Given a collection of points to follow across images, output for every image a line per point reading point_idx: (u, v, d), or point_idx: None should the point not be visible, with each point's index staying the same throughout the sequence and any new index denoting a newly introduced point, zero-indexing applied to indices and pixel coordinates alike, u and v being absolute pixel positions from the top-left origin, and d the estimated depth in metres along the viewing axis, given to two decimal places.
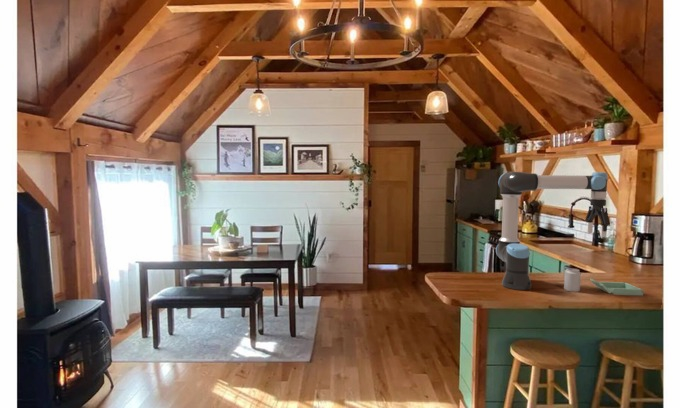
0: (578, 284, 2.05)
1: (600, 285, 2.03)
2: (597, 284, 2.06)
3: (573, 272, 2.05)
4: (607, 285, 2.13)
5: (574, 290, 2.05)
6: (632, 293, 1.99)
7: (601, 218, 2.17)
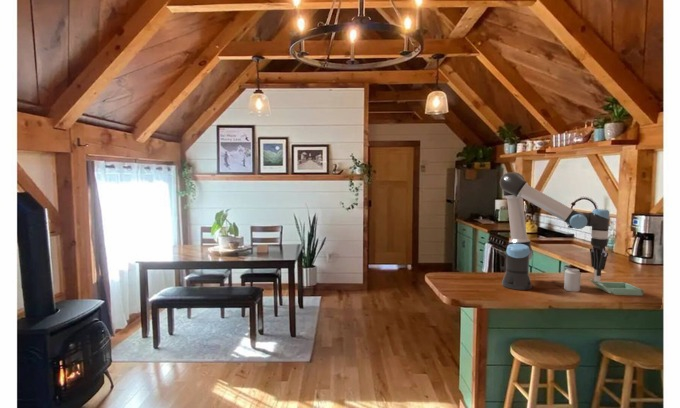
0: (578, 284, 2.05)
1: (600, 285, 2.03)
2: (597, 284, 2.06)
3: (573, 272, 2.05)
4: (607, 285, 2.13)
5: (574, 290, 2.05)
6: (632, 293, 1.99)
7: (598, 262, 2.05)
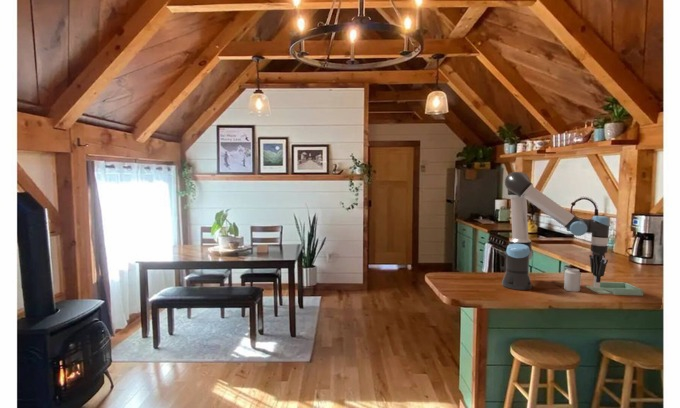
0: (578, 284, 2.05)
1: None
2: (594, 291, 2.07)
3: (573, 272, 2.05)
4: (607, 285, 2.13)
5: (574, 290, 2.05)
6: (632, 293, 1.99)
7: (597, 268, 2.05)
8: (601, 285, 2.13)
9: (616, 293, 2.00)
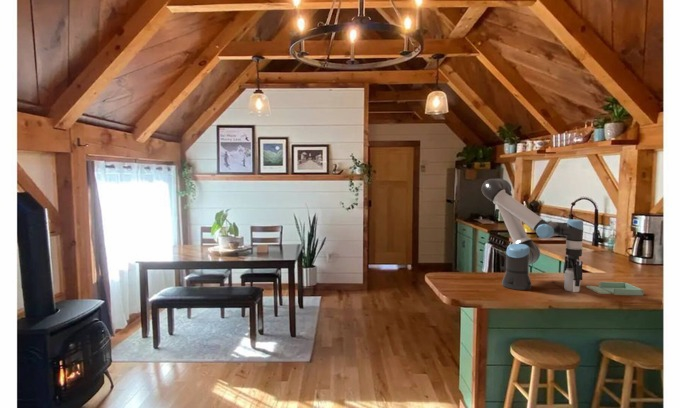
0: None
1: None
2: (594, 291, 2.07)
3: (573, 272, 2.05)
4: (607, 285, 2.13)
5: None
6: (632, 293, 1.99)
7: (575, 272, 2.04)
8: (601, 285, 2.13)
9: (616, 293, 2.00)
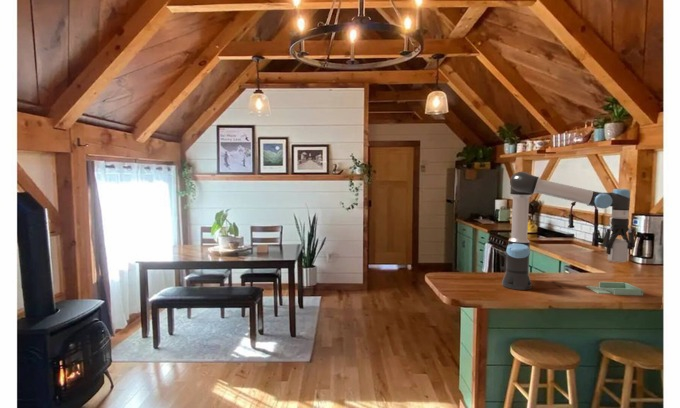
0: (613, 253, 2.04)
1: None
2: (594, 291, 2.07)
3: None
4: (607, 285, 2.13)
5: None
6: (632, 293, 1.99)
7: None
8: (601, 285, 2.13)
9: (616, 293, 2.00)
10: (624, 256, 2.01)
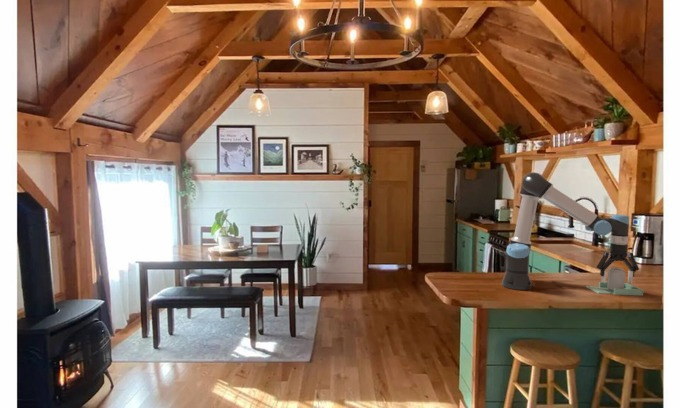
0: (611, 282, 2.05)
1: None
2: (594, 291, 2.07)
3: None
4: None
5: (608, 287, 2.07)
6: (632, 293, 1.99)
7: (605, 262, 2.07)
8: (601, 285, 2.13)
9: (616, 293, 2.00)
10: (622, 285, 2.03)
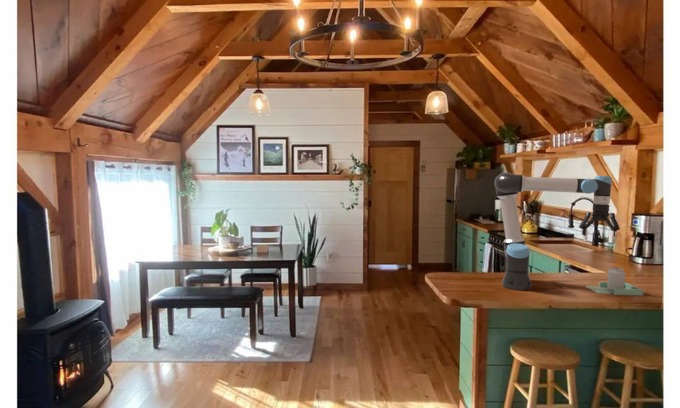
0: (611, 282, 2.05)
1: None
2: (594, 291, 2.07)
3: None
4: None
5: (608, 287, 2.07)
6: (632, 293, 1.99)
7: (587, 222, 2.13)
8: (601, 285, 2.13)
9: (616, 293, 2.00)
10: (622, 285, 2.03)
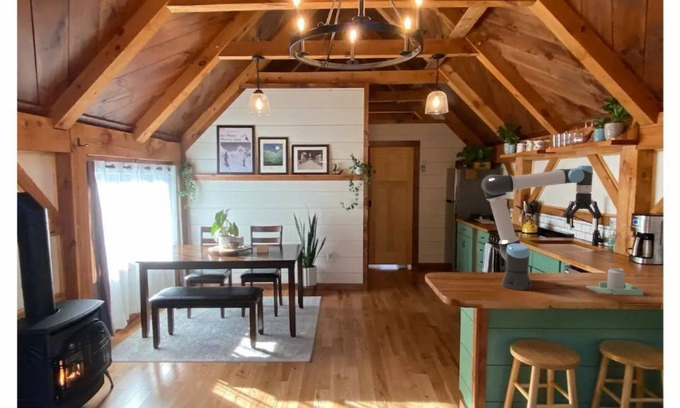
0: (611, 282, 2.05)
1: None
2: (594, 291, 2.07)
3: None
4: None
5: (608, 287, 2.07)
6: (632, 293, 1.99)
7: (571, 211, 2.20)
8: (601, 285, 2.13)
9: (616, 293, 2.00)
10: (622, 285, 2.03)
